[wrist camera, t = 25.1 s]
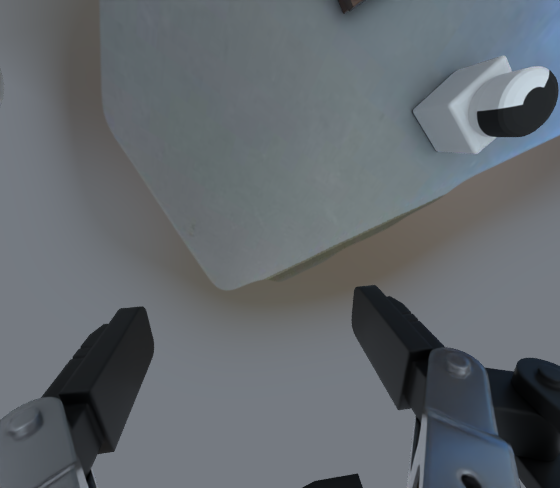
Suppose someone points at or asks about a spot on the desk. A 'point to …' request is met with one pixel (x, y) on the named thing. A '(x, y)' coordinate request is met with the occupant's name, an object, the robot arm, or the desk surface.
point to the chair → (349, 4)
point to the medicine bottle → (486, 105)
